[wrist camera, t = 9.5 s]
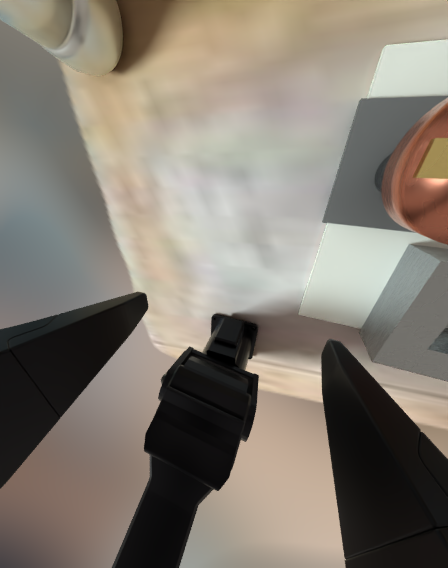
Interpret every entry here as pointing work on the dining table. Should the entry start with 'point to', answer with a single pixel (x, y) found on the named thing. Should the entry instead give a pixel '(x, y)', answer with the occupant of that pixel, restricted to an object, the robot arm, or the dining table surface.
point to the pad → (372, 159)
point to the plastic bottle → (71, 30)
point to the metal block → (412, 315)
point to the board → (362, 240)
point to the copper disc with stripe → (419, 177)
